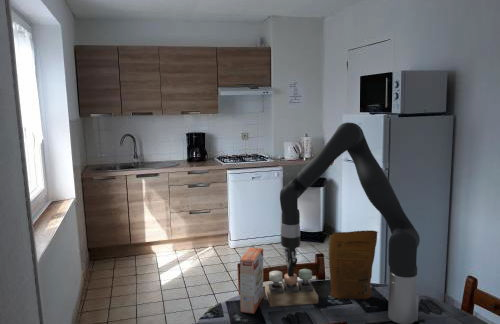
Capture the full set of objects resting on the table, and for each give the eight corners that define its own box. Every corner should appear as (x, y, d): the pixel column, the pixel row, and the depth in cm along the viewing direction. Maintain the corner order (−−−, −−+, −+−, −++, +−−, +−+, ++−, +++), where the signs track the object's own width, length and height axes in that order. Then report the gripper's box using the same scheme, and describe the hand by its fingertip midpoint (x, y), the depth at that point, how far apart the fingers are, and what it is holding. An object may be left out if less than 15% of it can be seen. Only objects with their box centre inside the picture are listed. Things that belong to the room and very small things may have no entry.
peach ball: (295, 283, 166) (295, 272, 165) (298, 289, 161) (298, 278, 160) (283, 284, 165) (283, 273, 165) (285, 290, 160) (285, 278, 160)
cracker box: (255, 314, 151) (254, 260, 148) (239, 312, 152) (238, 259, 149) (264, 297, 164) (263, 247, 161) (250, 295, 166) (249, 246, 163)
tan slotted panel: (309, 288, 171) (309, 276, 171) (318, 303, 158) (318, 290, 158) (265, 291, 169) (264, 279, 168) (270, 306, 156) (270, 293, 156)
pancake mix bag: (377, 301, 159) (379, 232, 155) (328, 300, 160) (329, 232, 157) (373, 293, 166) (375, 227, 162) (326, 293, 167) (327, 227, 163)
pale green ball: (310, 279, 167) (310, 268, 166) (313, 285, 161) (313, 273, 161) (297, 280, 166) (297, 269, 165) (300, 286, 161) (300, 274, 160)
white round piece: (281, 281, 165) (281, 270, 165) (283, 287, 160) (283, 275, 159) (268, 282, 165) (268, 271, 164) (270, 288, 160) (270, 276, 159)
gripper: (304, 238, 154) (303, 282, 157) (296, 228, 167) (296, 268, 170) (284, 239, 153) (284, 283, 156) (278, 229, 166) (278, 269, 169)
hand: (290, 275), depth 163 cm, fingers closed
